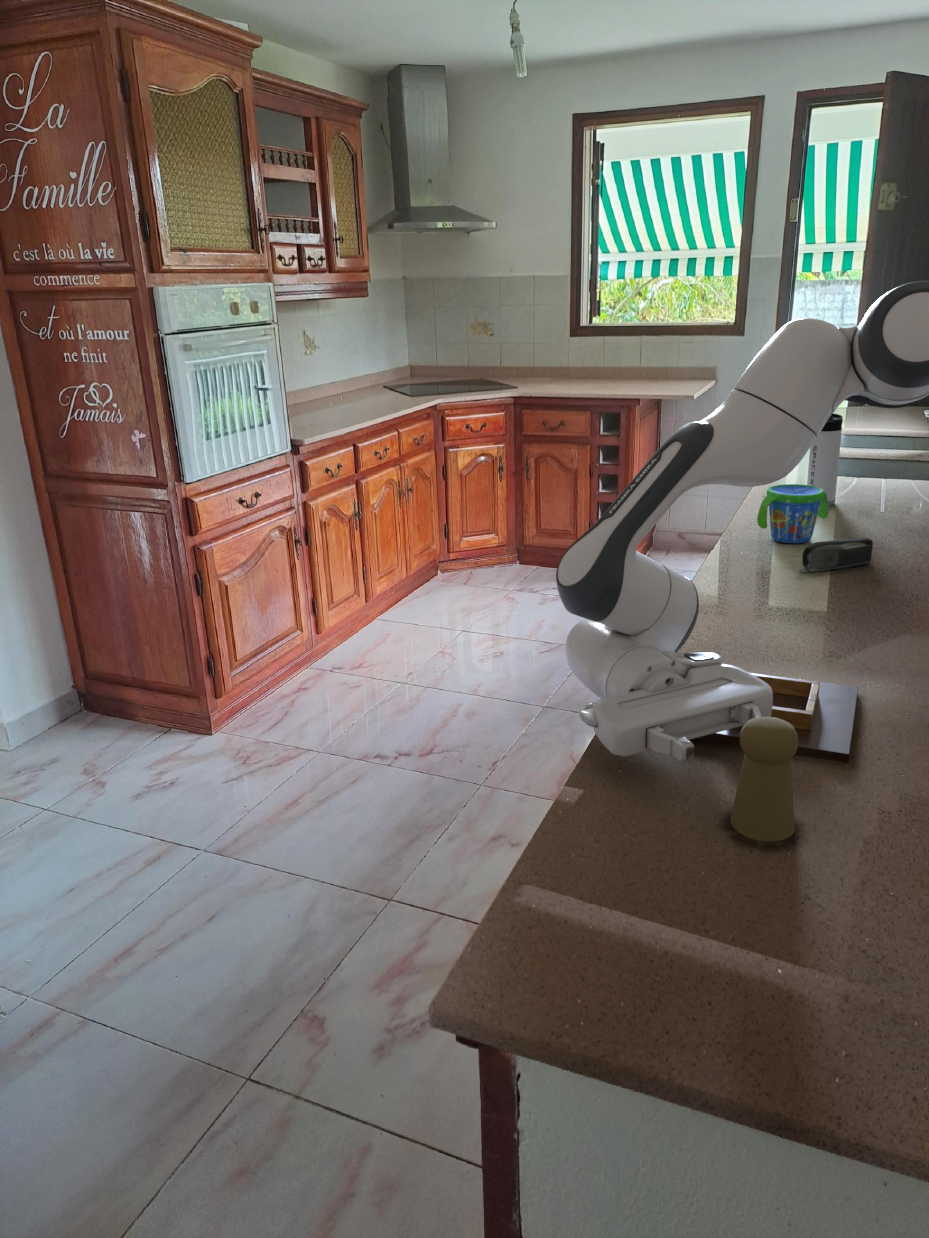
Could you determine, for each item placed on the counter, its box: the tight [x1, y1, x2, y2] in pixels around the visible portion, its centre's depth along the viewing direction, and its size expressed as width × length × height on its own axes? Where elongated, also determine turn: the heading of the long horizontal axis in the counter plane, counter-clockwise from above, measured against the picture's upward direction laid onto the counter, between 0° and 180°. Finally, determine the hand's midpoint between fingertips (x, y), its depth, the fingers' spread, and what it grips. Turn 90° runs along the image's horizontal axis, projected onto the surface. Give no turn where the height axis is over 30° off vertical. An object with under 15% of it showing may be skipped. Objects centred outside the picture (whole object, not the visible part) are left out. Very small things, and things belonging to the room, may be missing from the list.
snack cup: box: [756, 483, 830, 545], centre depth 173 cm, size 16×10×10 cm
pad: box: [697, 672, 859, 763], centre depth 106 cm, size 18×18×3 cm
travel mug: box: [806, 413, 844, 507], centre depth 197 cm, size 6×7×20 cm
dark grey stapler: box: [798, 537, 874, 575], centre depth 156 cm, size 5×3×15 cm
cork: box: [729, 717, 798, 843], centre depth 84 cm, size 6×6×11 cm
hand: (727, 743), depth 89 cm, fingers open, 8 cm apart
